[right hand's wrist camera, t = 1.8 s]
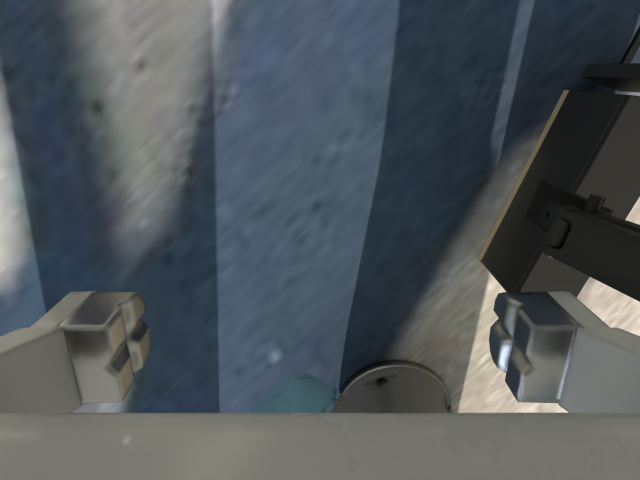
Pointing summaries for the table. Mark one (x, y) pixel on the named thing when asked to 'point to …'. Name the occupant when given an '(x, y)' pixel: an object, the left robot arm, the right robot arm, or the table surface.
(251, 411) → the left robot arm
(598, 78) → the drawer
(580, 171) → the dark rectangular case
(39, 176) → the table surface
